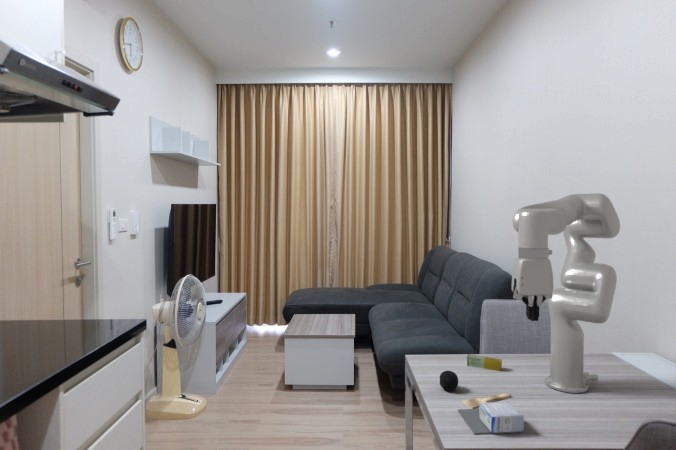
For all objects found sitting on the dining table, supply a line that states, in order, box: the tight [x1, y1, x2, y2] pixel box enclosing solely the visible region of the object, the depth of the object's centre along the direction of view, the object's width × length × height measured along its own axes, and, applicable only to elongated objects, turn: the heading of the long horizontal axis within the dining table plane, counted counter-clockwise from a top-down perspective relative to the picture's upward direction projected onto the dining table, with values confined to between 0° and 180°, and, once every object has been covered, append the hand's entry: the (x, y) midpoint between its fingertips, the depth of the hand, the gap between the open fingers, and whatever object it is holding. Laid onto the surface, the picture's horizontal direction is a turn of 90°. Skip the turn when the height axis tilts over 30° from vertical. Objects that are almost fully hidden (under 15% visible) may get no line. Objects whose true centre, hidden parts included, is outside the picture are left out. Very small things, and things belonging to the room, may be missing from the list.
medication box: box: [466, 353, 503, 372], centre depth 158 cm, size 12×3×4 cm, turn 62°
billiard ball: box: [438, 370, 459, 392], centre depth 139 cm, size 6×6×6 cm
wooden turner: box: [462, 392, 512, 409], centre depth 131 cm, size 16×4×1 cm, turn 113°
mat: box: [457, 408, 521, 435], centre depth 119 cm, size 12×13×1 cm
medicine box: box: [478, 401, 525, 434], centre depth 116 cm, size 8×4×9 cm
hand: (532, 319), depth 121 cm, fingers closed
